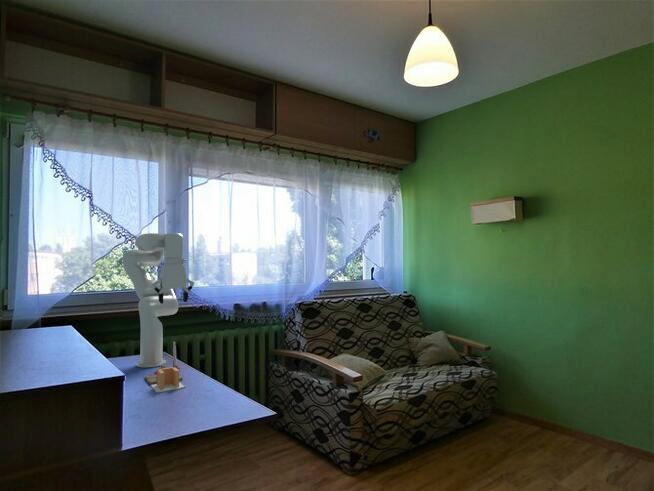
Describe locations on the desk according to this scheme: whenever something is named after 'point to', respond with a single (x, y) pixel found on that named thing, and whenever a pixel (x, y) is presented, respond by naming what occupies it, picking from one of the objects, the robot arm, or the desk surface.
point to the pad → (167, 387)
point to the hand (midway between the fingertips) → (173, 302)
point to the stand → (153, 378)
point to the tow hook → (173, 358)
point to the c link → (167, 377)
